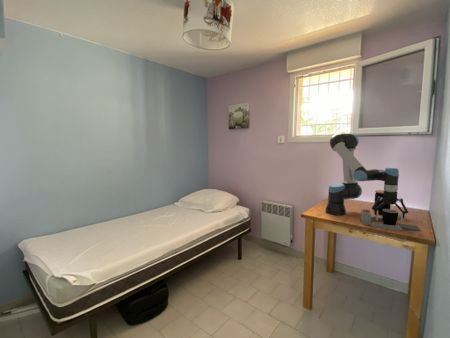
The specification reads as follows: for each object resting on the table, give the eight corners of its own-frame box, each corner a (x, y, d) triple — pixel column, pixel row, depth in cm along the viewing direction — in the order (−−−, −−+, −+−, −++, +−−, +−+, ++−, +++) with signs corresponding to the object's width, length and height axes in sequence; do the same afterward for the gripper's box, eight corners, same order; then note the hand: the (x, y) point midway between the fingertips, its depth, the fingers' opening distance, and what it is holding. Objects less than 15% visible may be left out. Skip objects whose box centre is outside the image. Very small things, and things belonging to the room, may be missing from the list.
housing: (361, 225, 156) (362, 214, 155) (360, 218, 170) (360, 208, 169) (401, 230, 146) (402, 218, 145) (396, 223, 160) (397, 212, 159)
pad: (401, 229, 149) (401, 228, 149) (398, 224, 158) (398, 223, 158) (421, 231, 144) (421, 230, 144) (416, 226, 153) (416, 225, 153)
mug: (386, 221, 162) (387, 208, 161) (400, 226, 154) (401, 211, 153) (375, 224, 157) (376, 210, 156) (389, 229, 149) (390, 214, 148)
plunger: (362, 217, 160) (363, 210, 160) (362, 215, 164) (362, 208, 163) (369, 217, 158) (369, 211, 158) (368, 216, 162) (369, 209, 161)
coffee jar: (392, 216, 175) (394, 193, 173) (377, 215, 177) (378, 192, 175) (385, 211, 185) (387, 190, 183) (371, 211, 187) (372, 189, 185)
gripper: (369, 190, 155) (367, 220, 157) (415, 193, 144) (413, 225, 146) (368, 188, 162) (366, 217, 164) (412, 191, 150) (410, 222, 152)
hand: (388, 221), depth 155 cm, fingers open, 13 cm apart
